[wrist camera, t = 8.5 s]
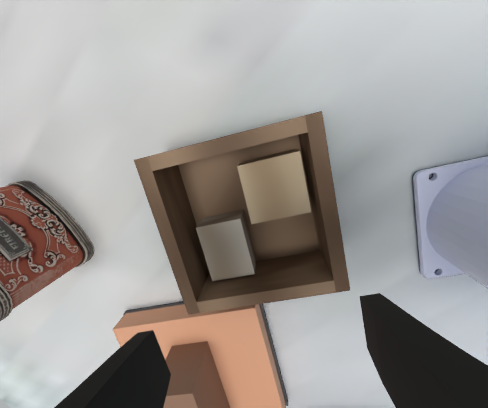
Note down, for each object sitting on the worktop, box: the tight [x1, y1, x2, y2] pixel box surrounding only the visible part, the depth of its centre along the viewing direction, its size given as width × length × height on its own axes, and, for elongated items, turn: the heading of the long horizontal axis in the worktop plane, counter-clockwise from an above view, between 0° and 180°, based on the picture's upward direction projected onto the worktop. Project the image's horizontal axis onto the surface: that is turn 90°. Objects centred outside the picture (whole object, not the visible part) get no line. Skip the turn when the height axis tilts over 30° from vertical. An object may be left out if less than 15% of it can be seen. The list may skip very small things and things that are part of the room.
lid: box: [113, 304, 286, 408], centre depth 19 cm, size 12×12×6 cm
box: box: [134, 111, 350, 315], centre depth 16 cm, size 10×10×4 cm
